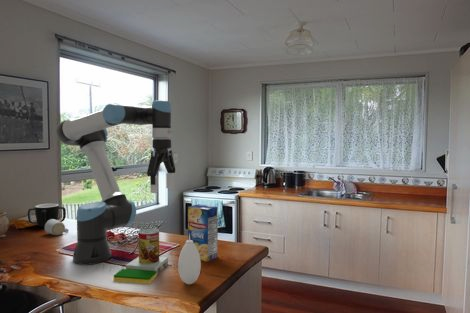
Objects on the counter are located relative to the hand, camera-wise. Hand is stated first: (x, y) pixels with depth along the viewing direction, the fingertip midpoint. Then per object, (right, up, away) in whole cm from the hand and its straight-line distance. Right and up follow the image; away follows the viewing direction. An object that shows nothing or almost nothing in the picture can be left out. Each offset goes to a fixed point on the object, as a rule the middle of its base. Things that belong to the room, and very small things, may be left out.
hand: (162, 190), depth 145 cm
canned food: (-4, -27, -6) cm, 28 cm away
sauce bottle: (+14, -31, -20) cm, 40 cm away
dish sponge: (-7, -31, -16) cm, 36 cm away
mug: (-79, -27, +60) cm, 103 cm away
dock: (-4, -30, -6) cm, 31 cm away
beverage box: (+16, -30, +8) cm, 35 cm away
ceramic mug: (-65, -28, +43) cm, 83 cm away
